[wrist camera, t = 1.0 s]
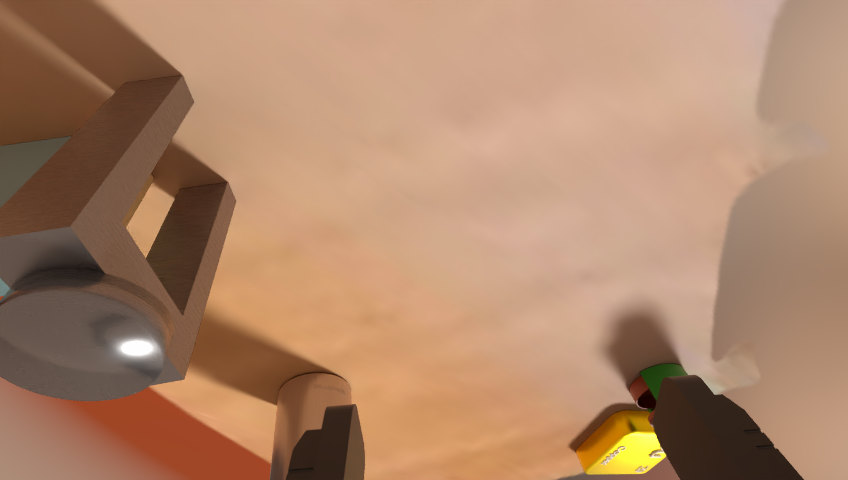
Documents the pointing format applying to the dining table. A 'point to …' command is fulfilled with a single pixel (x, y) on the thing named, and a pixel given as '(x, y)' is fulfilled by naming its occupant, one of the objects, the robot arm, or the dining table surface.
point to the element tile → (621, 445)
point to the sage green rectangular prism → (17, 163)
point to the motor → (652, 385)
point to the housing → (107, 258)
